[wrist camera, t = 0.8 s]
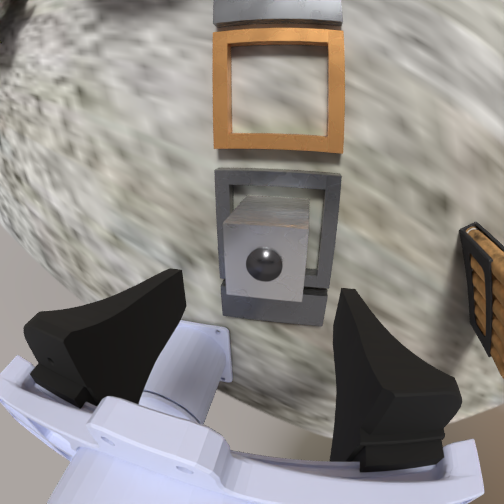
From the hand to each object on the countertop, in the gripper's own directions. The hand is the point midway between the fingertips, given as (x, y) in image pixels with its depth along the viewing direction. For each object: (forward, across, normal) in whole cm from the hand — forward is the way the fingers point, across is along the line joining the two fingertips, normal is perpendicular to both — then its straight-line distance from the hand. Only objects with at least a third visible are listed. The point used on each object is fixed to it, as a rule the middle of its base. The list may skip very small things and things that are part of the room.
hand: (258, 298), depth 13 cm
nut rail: (+9, 0, -5) cm, 11 cm away
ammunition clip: (+10, -18, +3) cm, 20 cm away
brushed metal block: (+10, 0, 0) cm, 10 cm away
